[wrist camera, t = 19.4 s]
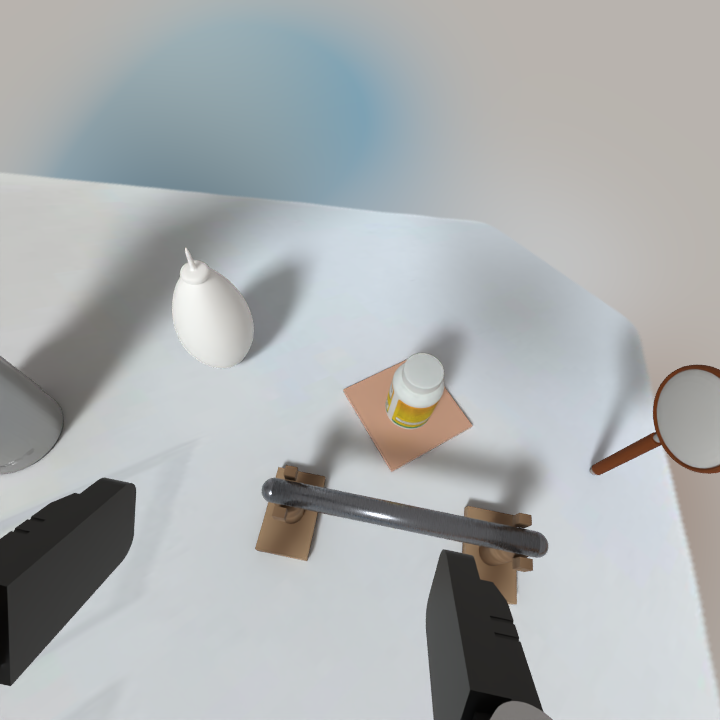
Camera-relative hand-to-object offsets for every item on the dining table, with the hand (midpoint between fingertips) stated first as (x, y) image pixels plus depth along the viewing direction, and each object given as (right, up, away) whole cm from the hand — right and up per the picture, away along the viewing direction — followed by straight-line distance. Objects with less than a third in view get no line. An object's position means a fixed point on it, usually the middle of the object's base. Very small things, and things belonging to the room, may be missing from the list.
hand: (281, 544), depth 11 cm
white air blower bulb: (-14, +5, +41) cm, 44 cm away
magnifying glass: (+28, -8, +37) cm, 47 cm away
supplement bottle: (+8, -1, +39) cm, 39 cm away
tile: (+7, -1, +39) cm, 40 cm away
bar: (+6, -8, +24) cm, 26 cm away
